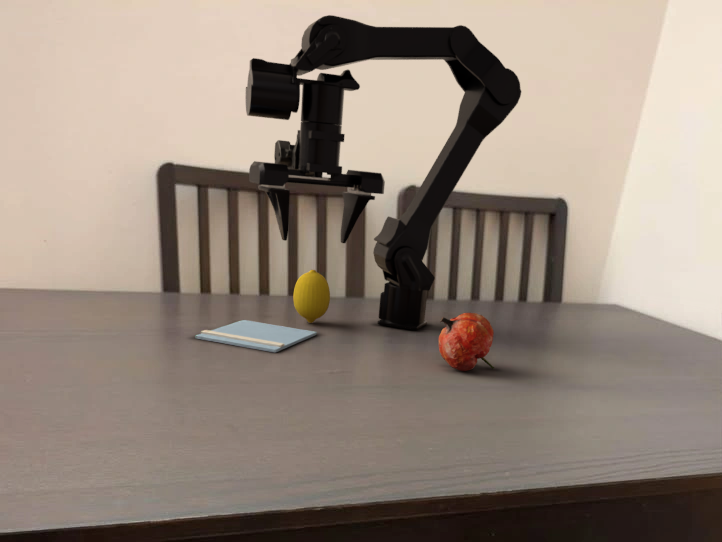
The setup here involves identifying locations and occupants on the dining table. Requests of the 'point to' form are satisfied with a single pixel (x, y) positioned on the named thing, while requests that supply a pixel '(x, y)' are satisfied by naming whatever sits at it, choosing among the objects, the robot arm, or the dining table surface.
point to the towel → (256, 335)
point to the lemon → (311, 296)
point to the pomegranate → (465, 340)
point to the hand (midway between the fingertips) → (314, 241)
